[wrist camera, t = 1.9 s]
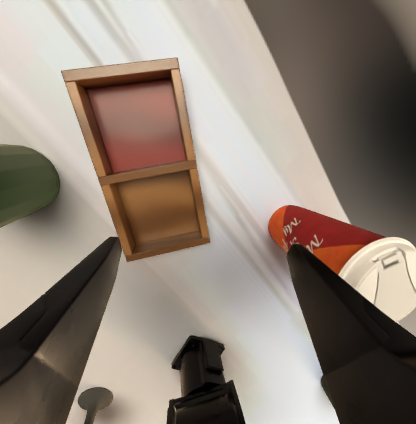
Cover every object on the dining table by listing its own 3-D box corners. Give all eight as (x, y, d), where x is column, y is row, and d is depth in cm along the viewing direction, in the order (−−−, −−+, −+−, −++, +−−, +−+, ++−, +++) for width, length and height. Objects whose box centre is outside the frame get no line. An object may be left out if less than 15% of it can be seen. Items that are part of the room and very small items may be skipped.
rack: (205, 232, 26) (210, 242, 23) (131, 249, 25) (126, 262, 22) (176, 70, 20) (177, 57, 17) (76, 82, 19) (60, 70, 16)
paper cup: (254, 211, 26) (340, 275, 13) (306, 188, 26) (441, 227, 13) (269, 257, 29) (353, 350, 16) (316, 236, 29) (436, 308, 16)
